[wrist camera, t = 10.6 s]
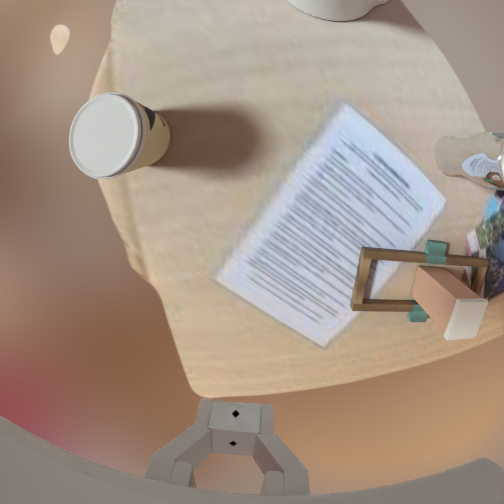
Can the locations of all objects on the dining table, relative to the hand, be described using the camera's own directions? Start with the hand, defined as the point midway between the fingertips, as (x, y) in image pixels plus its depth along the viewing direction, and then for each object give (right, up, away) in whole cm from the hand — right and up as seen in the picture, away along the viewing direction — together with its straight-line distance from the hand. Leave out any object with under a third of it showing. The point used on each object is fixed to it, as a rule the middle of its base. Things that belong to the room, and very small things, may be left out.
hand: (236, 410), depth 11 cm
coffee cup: (-14, +22, +26) cm, 37 cm away
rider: (+28, +2, +30) cm, 42 cm away
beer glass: (+30, +21, +24) cm, 44 cm away
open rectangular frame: (+28, +2, +30) cm, 41 cm away
